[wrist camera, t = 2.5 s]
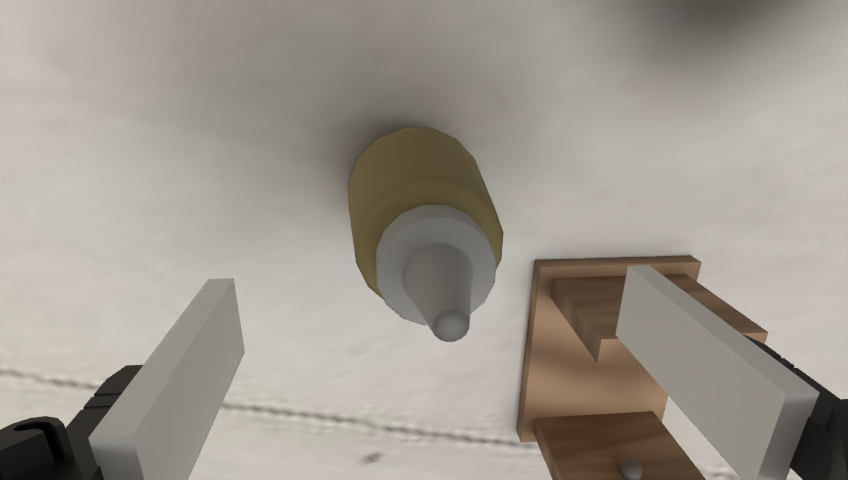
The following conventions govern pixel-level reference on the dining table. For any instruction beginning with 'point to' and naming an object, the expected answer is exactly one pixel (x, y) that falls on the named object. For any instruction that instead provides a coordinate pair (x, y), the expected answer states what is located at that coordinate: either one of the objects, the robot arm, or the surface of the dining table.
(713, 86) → the dining table surface
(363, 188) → the squeeze bottle
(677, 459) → the holder
